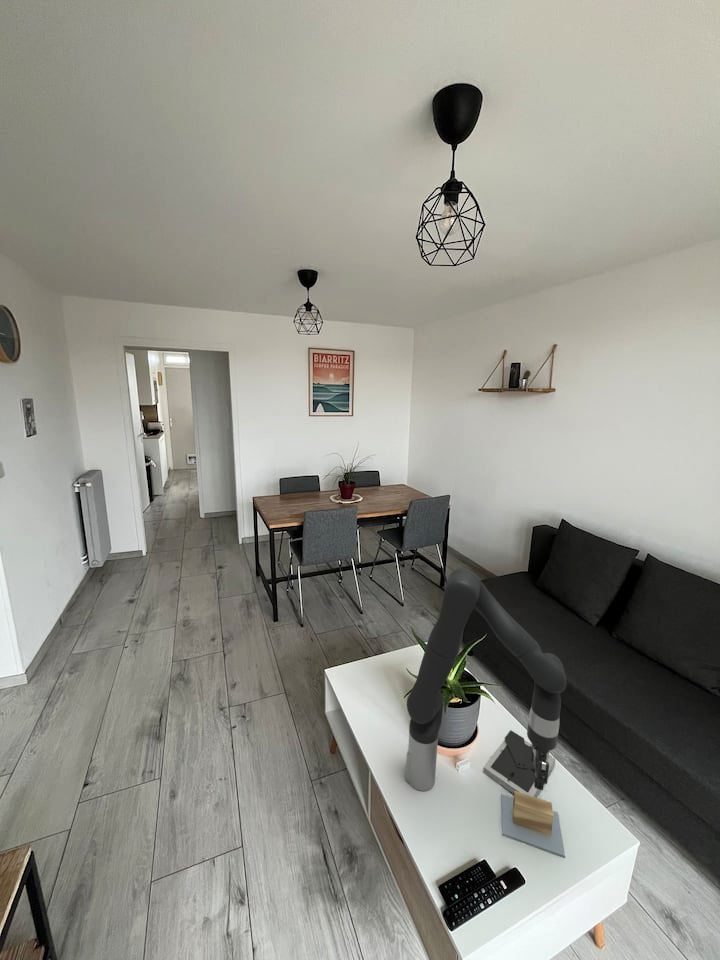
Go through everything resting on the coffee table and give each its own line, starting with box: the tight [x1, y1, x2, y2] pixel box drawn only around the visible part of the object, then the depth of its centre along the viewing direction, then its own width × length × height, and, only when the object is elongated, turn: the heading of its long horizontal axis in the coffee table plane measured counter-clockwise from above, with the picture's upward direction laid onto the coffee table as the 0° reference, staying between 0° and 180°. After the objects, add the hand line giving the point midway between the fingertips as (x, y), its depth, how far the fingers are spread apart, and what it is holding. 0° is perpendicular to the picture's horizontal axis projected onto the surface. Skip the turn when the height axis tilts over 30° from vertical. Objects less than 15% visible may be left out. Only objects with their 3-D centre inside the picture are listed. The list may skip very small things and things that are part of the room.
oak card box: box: [512, 791, 554, 837], centre depth 109 cm, size 4×10×7 cm, turn 71°
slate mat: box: [500, 794, 566, 858], centre depth 109 cm, size 16×12×1 cm
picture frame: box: [482, 729, 556, 798], centre depth 126 cm, size 16×3×21 cm
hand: (536, 774), depth 106 cm, fingers open, 8 cm apart
